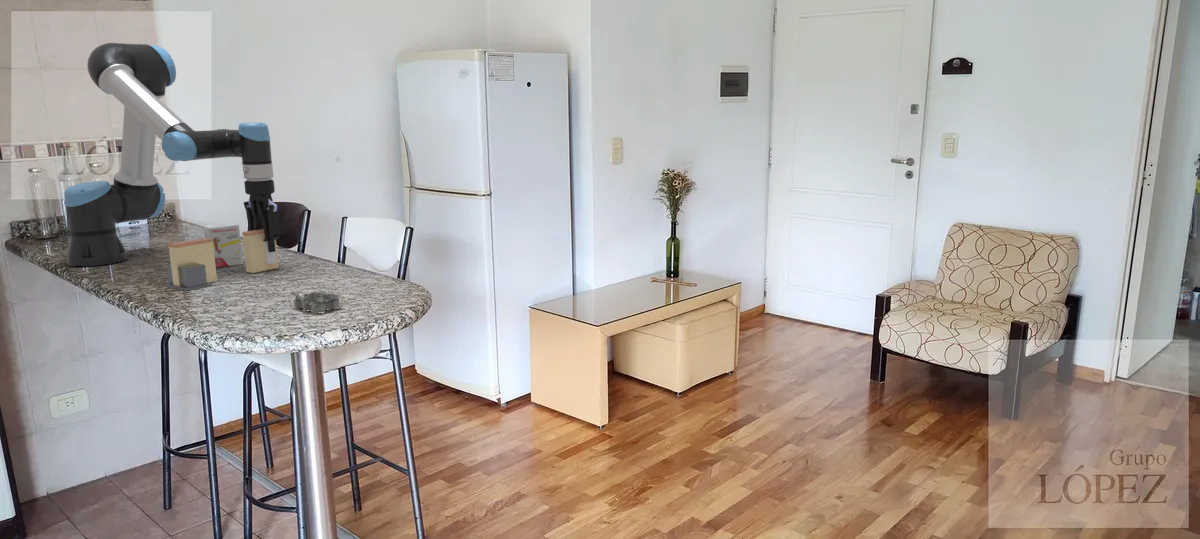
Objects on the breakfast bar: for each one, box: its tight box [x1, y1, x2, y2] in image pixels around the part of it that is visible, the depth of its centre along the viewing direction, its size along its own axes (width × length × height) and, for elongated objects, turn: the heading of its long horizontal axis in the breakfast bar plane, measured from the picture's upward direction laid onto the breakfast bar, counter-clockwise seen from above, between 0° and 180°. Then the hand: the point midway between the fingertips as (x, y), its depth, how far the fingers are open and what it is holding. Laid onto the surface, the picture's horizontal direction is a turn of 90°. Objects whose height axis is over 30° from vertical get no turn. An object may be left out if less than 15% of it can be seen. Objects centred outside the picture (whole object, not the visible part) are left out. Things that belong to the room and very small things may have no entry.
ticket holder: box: [163, 237, 218, 292], centre depth 203 cm, size 10×10×11 cm
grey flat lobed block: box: [290, 289, 341, 314], centre depth 181 cm, size 11×8×4 cm
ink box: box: [203, 222, 244, 269], centre depth 227 cm, size 9×5×12 cm, turn 130°
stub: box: [242, 229, 279, 274], centre depth 219 cm, size 3×8×11 cm, turn 146°
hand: (267, 262), depth 222 cm, fingers closed on stub, 3 cm apart
